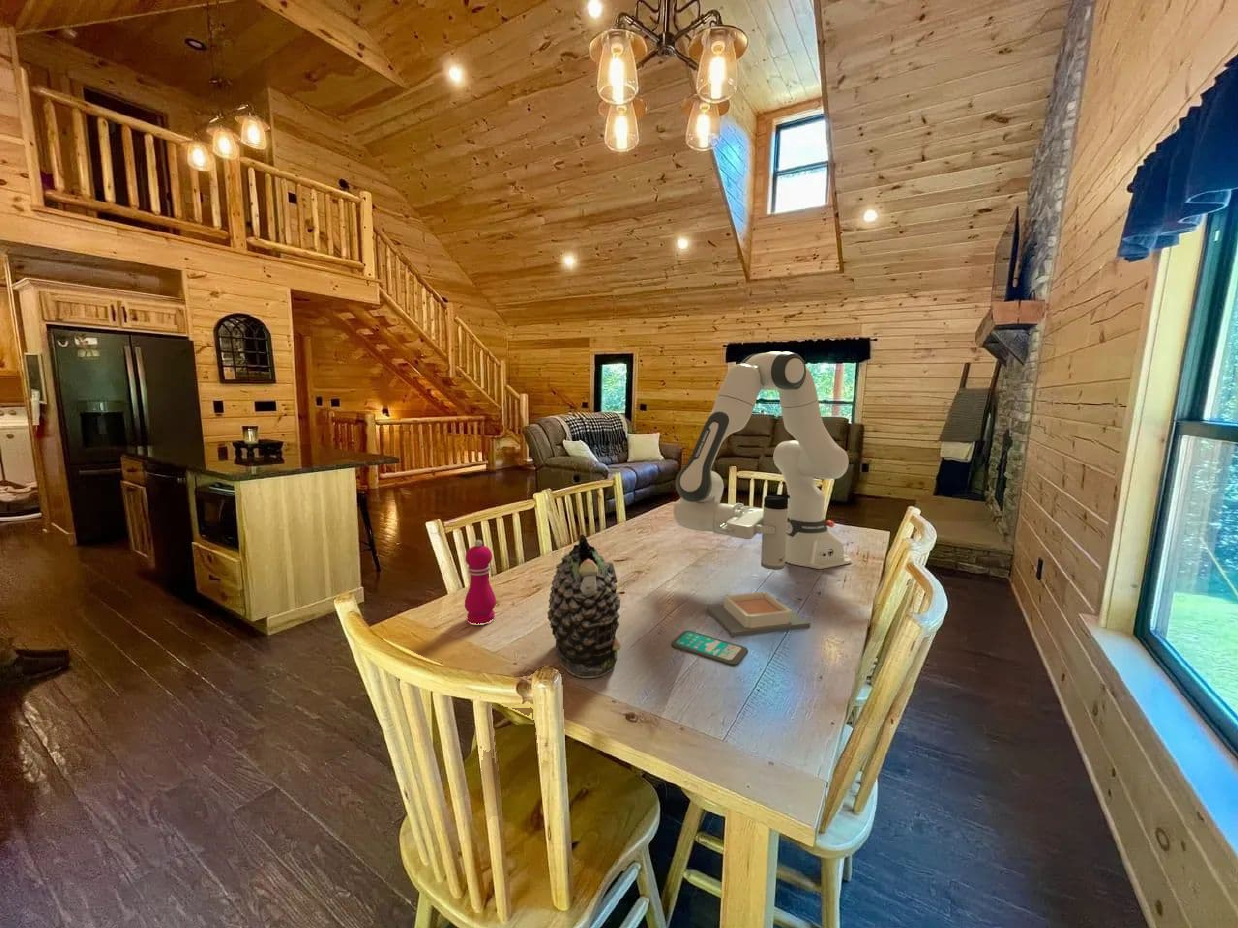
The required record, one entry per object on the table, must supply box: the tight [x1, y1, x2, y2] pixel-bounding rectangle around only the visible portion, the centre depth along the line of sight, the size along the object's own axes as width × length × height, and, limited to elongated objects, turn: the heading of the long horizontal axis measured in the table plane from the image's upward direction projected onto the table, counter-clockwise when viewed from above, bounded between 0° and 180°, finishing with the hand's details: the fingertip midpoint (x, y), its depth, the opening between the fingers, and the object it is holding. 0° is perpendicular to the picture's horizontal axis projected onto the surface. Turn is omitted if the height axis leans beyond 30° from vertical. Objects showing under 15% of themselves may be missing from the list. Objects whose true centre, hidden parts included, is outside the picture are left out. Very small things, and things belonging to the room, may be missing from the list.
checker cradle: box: [705, 591, 811, 639], centre depth 120 cm, size 20×14×4 cm
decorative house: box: [547, 534, 622, 679], centre depth 102 cm, size 21×15×25 cm
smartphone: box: [671, 630, 749, 667], centre depth 107 cm, size 9×1×15 cm
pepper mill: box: [464, 539, 497, 624], centre depth 117 cm, size 7×7×20 cm
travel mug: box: [760, 493, 790, 571], centre depth 134 cm, size 6×7×20 cm
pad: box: [735, 599, 778, 615], centre depth 120 cm, size 9×9×2 cm
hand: (778, 526), depth 133 cm, fingers closed on travel mug, 6 cm apart
